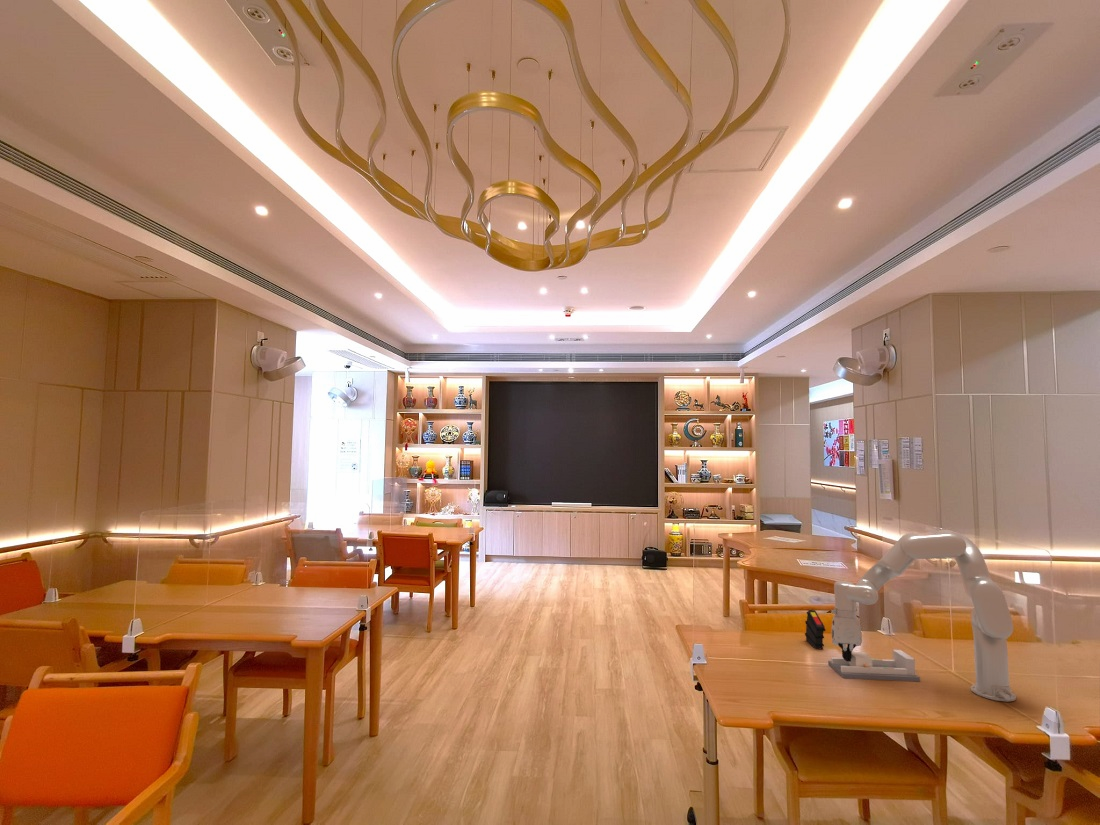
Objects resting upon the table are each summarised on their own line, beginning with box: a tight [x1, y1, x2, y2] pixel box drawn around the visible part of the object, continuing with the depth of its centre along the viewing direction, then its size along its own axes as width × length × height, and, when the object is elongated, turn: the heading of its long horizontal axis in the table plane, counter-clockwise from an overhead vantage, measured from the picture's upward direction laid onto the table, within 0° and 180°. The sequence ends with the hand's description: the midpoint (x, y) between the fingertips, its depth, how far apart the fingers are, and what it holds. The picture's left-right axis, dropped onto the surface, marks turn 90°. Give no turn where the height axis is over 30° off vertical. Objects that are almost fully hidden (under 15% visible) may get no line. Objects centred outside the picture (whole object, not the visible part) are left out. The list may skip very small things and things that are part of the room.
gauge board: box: [827, 649, 921, 682], centre depth 216 cm, size 14×28×8 cm, turn 84°
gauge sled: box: [849, 651, 873, 667], centre depth 217 cm, size 11×6×5 cm, turn 174°
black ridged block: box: [804, 609, 826, 650], centre depth 247 cm, size 4×13×15 cm, turn 177°
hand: (847, 660), depth 217 cm, fingers closed
